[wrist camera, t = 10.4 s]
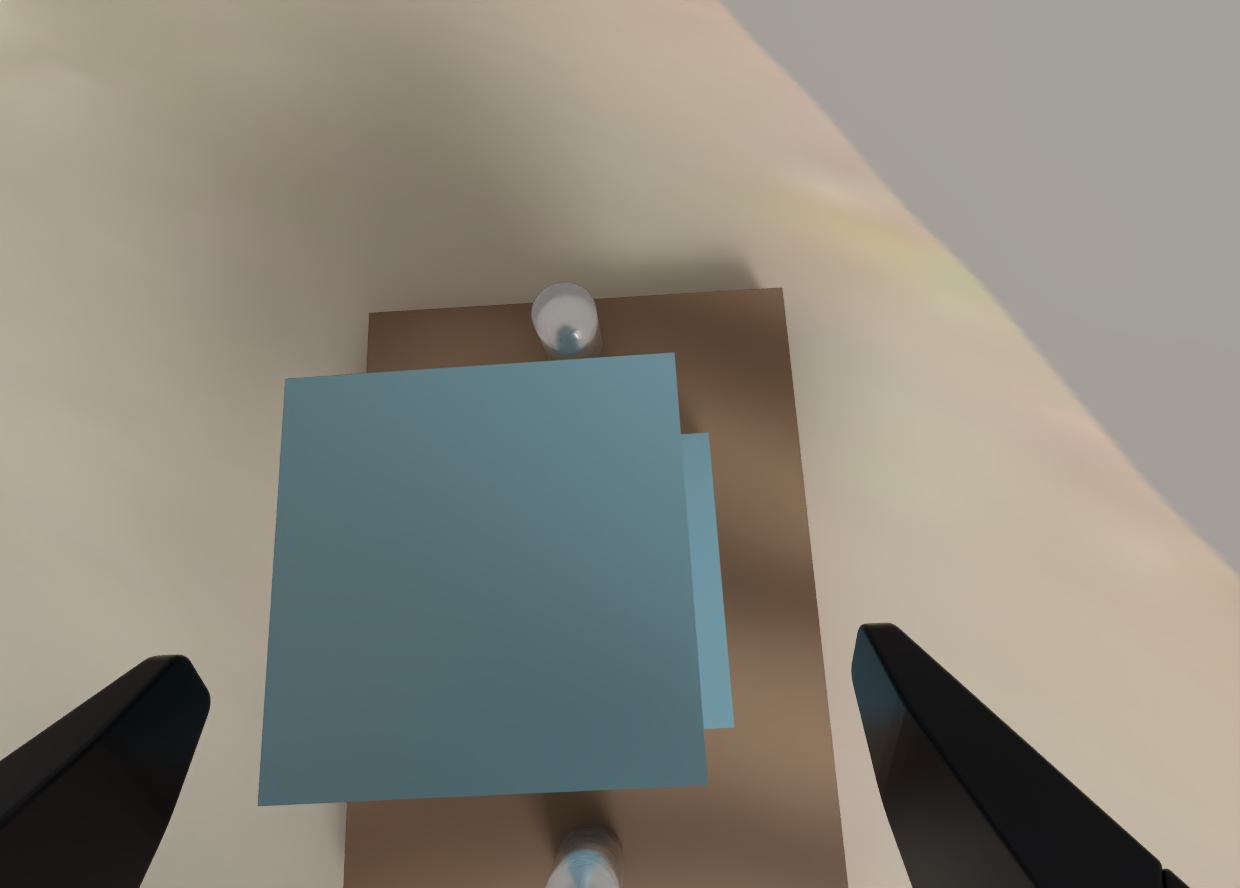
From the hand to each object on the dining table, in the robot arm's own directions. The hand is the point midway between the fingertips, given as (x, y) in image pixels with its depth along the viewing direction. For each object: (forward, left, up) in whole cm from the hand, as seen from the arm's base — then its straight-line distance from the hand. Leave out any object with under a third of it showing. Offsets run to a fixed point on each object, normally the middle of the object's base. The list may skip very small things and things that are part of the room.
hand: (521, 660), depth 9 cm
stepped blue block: (+1, +1, -8) cm, 8 cm away
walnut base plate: (+1, +1, -10) cm, 10 cm away
